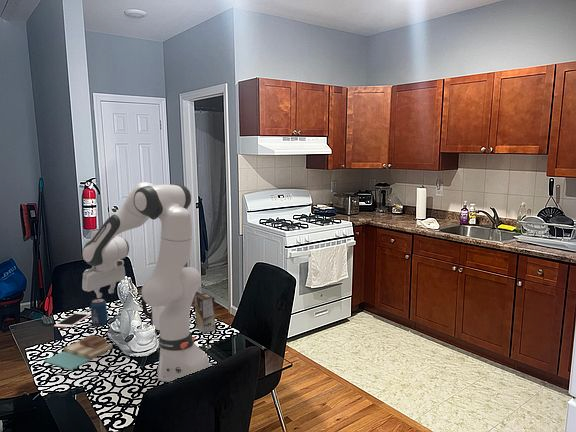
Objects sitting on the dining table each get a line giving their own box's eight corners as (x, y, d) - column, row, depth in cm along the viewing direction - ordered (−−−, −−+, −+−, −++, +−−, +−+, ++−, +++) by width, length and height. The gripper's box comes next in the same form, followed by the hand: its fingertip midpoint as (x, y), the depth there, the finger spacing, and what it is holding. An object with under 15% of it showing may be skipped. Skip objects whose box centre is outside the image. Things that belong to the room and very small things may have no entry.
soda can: (107, 320, 211) (105, 297, 210) (107, 325, 205) (106, 301, 203) (92, 322, 209) (90, 299, 207) (92, 327, 202) (90, 303, 201)
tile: (106, 342, 182) (106, 338, 182) (94, 348, 177) (94, 344, 176) (91, 339, 186) (91, 334, 185) (79, 344, 180) (79, 340, 180)
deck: (112, 348, 181) (112, 344, 180) (90, 360, 171) (90, 355, 171) (86, 341, 188) (86, 337, 187) (64, 352, 178) (63, 347, 177)
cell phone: (92, 314, 220) (92, 312, 220) (70, 328, 203) (70, 326, 202) (77, 313, 222) (77, 311, 221) (53, 327, 204) (53, 325, 204)
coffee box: (216, 330, 200) (215, 297, 197) (203, 333, 196) (202, 300, 194) (207, 323, 207) (206, 292, 205) (195, 327, 203) (193, 295, 201)
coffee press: (179, 320, 212) (177, 261, 207) (184, 332, 197) (181, 270, 192) (143, 325, 205) (139, 265, 201) (144, 338, 191) (141, 274, 186)
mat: (90, 360, 171) (90, 359, 171) (70, 370, 163) (70, 369, 163) (63, 352, 177) (63, 351, 177) (43, 361, 170) (43, 360, 170)
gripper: (88, 271, 173) (90, 303, 175) (126, 260, 191) (128, 289, 193) (77, 269, 175) (79, 301, 177) (116, 258, 194) (118, 287, 196)
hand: (105, 295), depth 185 cm, fingers open, 5 cm apart
